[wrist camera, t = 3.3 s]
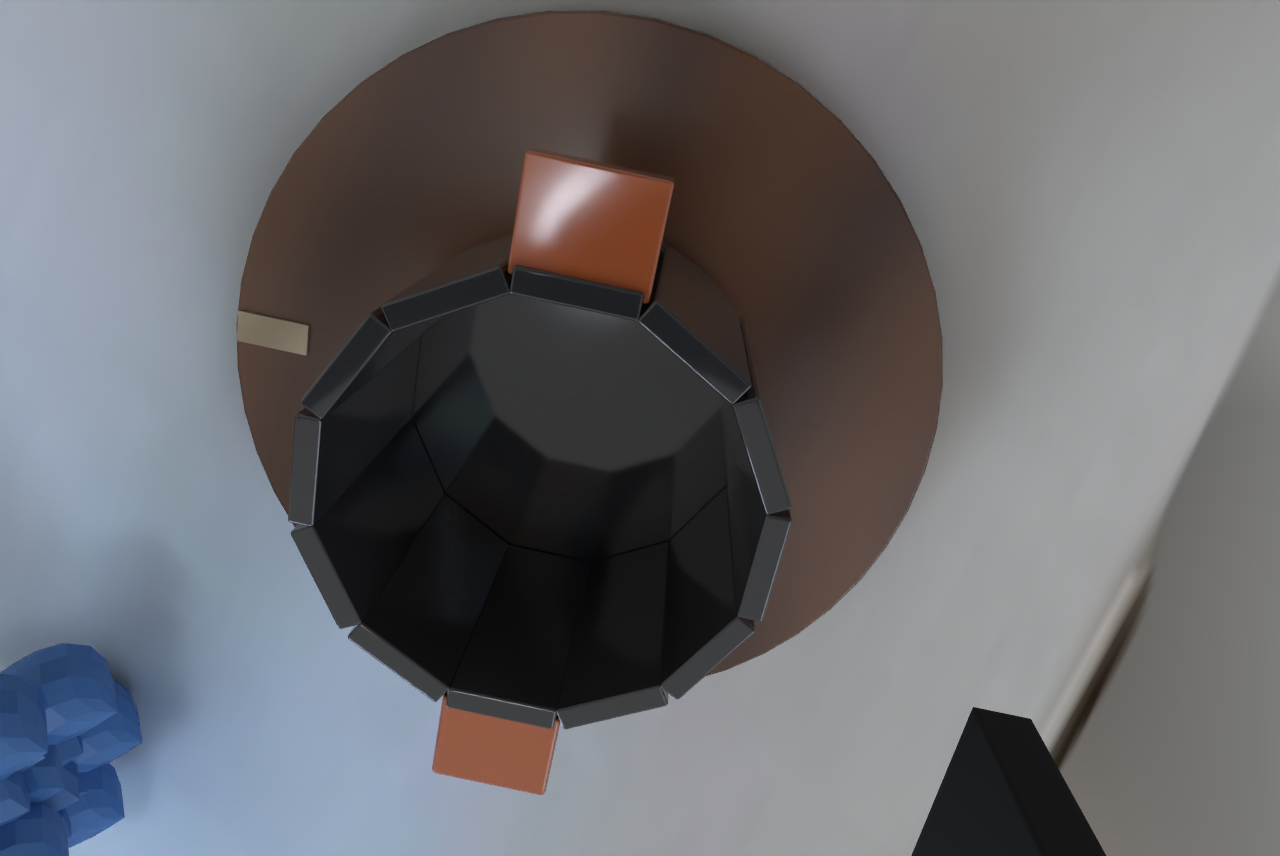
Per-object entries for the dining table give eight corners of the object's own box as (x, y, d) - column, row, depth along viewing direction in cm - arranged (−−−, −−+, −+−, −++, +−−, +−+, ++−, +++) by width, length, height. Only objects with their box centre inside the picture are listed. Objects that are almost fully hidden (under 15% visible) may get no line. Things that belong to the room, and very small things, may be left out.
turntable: (1029, 106, 21) (1056, 106, 19) (821, 714, 27) (828, 750, 26) (282, -60, 21) (249, -72, 19) (248, 593, 27) (221, 622, 25)
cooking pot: (822, 187, 20) (880, 228, 14) (699, 644, 25) (699, 833, 18) (437, 103, 20) (315, 104, 14) (382, 576, 24) (271, 744, 18)
